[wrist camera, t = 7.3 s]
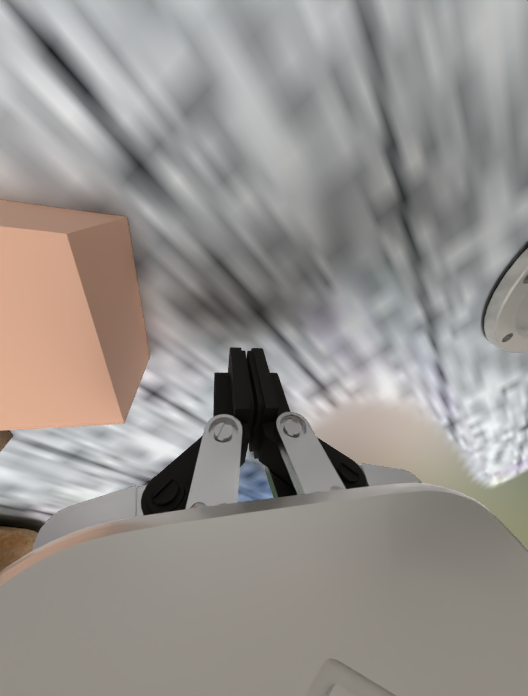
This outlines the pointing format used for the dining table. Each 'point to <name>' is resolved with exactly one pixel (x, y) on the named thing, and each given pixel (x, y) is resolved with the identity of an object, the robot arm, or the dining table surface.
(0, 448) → the board
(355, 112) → the dining table surface
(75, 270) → the brick
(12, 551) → the tan boot-shaped piece
